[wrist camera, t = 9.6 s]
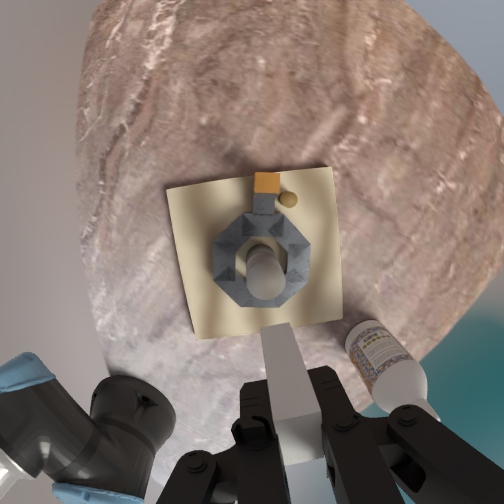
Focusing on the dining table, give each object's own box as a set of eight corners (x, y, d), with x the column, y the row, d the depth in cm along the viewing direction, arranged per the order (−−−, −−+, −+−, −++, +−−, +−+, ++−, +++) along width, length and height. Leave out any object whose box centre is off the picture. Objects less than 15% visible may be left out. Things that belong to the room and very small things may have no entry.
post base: (197, 335, 39) (185, 378, 29) (168, 189, 34) (141, 190, 25) (340, 315, 39) (366, 351, 29) (329, 167, 34) (359, 161, 24)
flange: (302, 302, 36) (312, 322, 31) (214, 301, 36) (209, 320, 31) (311, 177, 33) (324, 176, 28) (215, 173, 33) (209, 171, 27)
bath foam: (334, 342, 40) (387, 441, 20) (369, 309, 39) (445, 392, 19) (360, 365, 41) (414, 456, 21) (392, 335, 40) (463, 415, 20)
